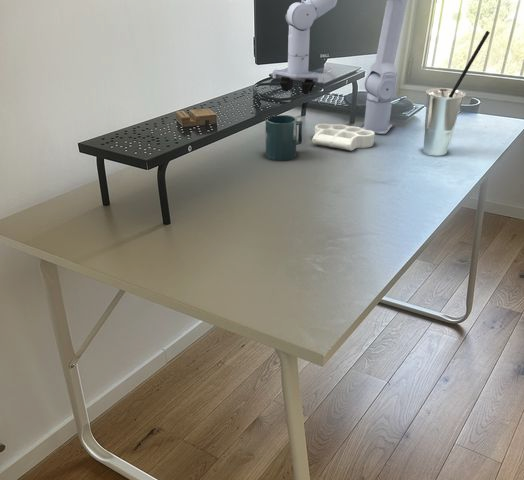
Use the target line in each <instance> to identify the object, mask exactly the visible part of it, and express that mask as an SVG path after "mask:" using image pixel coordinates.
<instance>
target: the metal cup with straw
mask: <svg viewBox="0 0 524 480" xmlns="http://www.w3.org/2000/svg"><path fill="white" fill-rule="evenodd" d="M490 34H491V32H490V31H488V30H486V31H485V33H484V35H483V36H482V38H481V39H480V42H479V43H478V45H477V47H476V49H475V50H474V52H473V54H472V55H471V56H470V59H469V60H468V62H467V64H466V66H465V67H464V69H463V70H462V73H461V74H460V76H459V78H458V79H457V81H456V83H455V85H454V86H453V88H447V87H445V88H444V87H437V88H430V89H427V90H426V91H425V94H426V105H425V118H424V119H425V120H424V136H423V149H422V152H423V153H424V154H425V155H429V156H434V157H435V156H436V157H438V156H439V157H441V156H445V155H446V154H447V153H448V149H449V145H450V143H451V139H452V135H453V132H454V129H455V126H456V123H457V119H458V116H459V113H460V111H461V110H460V109H461V106H462V103H463V99H464V97H465V96H467V94H466V92H465V91H463V90H459V86H460V85H461V84H462V81H463V79H464V78H465V76H466V74H467V73H468V71H469V69H470V68H471V66H472V64H473V63H474V61H475V59H476V57H477V56H478V55H479V53H480V50H481V49H482V47H483V46H484V44H485V42H486V41H487V38H488V37H489V35H490Z"/></svg>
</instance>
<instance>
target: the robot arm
mask: <svg viewBox="0 0 524 480" xmlns="http://www.w3.org/2000/svg"><path fill="white" fill-rule="evenodd" d="M337 3H338V0H301V1H300V2H299V1H298V2H297V1H296V2H294V3H292V4H290V5H289V7H288V9H287V12H286V14H285V21H286V23H287V24H288V35H287V37H288V42H287V69H273V70H272V79H280V81H279V85H280V87H281V88H280V89H282V91H283V90H285V91H288V90H290V89H292V88H294V81H303V82H301V92H302V93H304V94H308V92H309V91H310V92H311V93H312V91H313V89H314V87H315V85H316V82H317V83H323V82H324V79H325V78H324V77H325V73H323V72H322V73H321V72H315V71H310V70H309V63H310V61H309V60H310V41H311V40H310V39H311V37H310V36H311V34H310V33H311V32H310V31H311V27H312V25H313V24H314V21H315V20H317V19H319V18H320V17H322V16H323V15H325V14H326V13H327V12H329V11H331V10H333V8H335V7H336V6H337ZM407 5H408V0H386V4H385V10H384V14H383V20H382V24H381V29H380V35H379V36H380V37H379V40H378V46H377V51H376V55H375V60H374V63H372V64H371V66H370V67H369V73H368V74H367V76H366V77H365V80H364V89H365V91H366V93H367V95H366V101H365V102H366V103H365V113H364V122H363V125H362V127H361V128H362V129H365V130H371V131H373V132H374V133H375V134H378V135H387V133H388V131H390V129H392V127H393V124H390V123H391V113H392V107H393V106H392V105H393V104H392V99H393V97H395V95H396V93H397V90H398V83H397V76H398V73H397V69H396V65H395V62H396V58H397V52H398V47H399V43H400V38H401V33H402V29H403V23H404V17H405V15H406V9H407ZM292 90H293V89H292ZM308 104H309V101H308V102H306V103H303V104H302V103H301V109H302V110H305V109H307V108H308Z"/></svg>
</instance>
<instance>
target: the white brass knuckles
mask: <svg viewBox="0 0 524 480" xmlns="http://www.w3.org/2000/svg"><path fill="white" fill-rule="evenodd" d="M375 136H376V133H374V132H373V131H371V130H365V129H362V127H360V126H354V125H347V124H339V123H337V124H331V123H318V124H316V125H314V135H313V137H312V139H311V143H312V144H313V145H315V146H318V145H319V146H323V147H329V148H333V149H334V148H336V149H340V150H346V151H350V152H351V151H353V150H355V149H368V148H371V147H373V146H374V145H375V144H374V143H375V142H374V141H375Z"/></svg>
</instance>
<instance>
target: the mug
mask: <svg viewBox="0 0 524 480" xmlns="http://www.w3.org/2000/svg"><path fill="white" fill-rule="evenodd" d="M273 116H274V117H272V118H270V119H268V120H266V119H265V157H266V158H267V159H269V160H272V161H281V162H282V161H284V162H285V161H290V160H293V159H295V158H296V156H297V146H298V145H301V144H302V143H303V120H298V118H297V117H295V116H293V115H287V114H277V116H275V115H273ZM297 135H298V136H297ZM297 137H298V139H297Z"/></svg>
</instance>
